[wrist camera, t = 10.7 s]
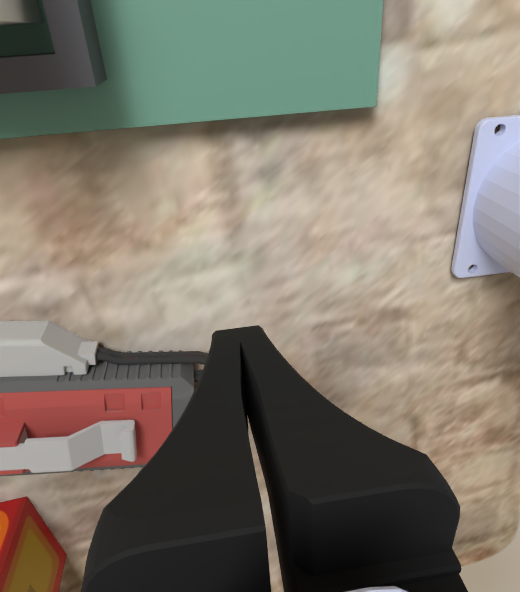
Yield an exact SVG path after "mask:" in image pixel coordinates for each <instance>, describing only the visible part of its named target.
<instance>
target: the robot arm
mask: <svg viewBox="0 0 520 592" xmlns="http://www.w3.org/2000/svg"><path fill="white" fill-rule="evenodd" d="M498 124H500V130H499V131H498V132H497V133H496V134H495V133H494V130H495V128H496V126H497V125H498ZM471 265H473V267H472V268H471V269H470V270H468V268H469V267H470V266H471ZM451 272H452V273H453V274H454V275H455V276H456V277H458V278H466V277H474V276H482V275H490V274H498V273H506V272H512V273H513V274H515V275H516V276H517V277H519V278H520V115H511V116H500V117H489V118H485V119H482V120H481V121H480V122H479V123H478V124H477V125H476V128H475V131H474V137H473V143H472V149H471V155H470V161H469V167H468V173H467V179H466V185H465V190H464V196H463V202H462V208H461V214H460V220H459V226H458V232H457V238H456V243H455V249H454V255H453V261H452V267H451ZM247 415H248V418H247ZM248 419H249V423H250V426H251V430H252V434H253V438H254V442H255V445H256V449H257V453H258V456H259V460H260V464H261V468H262V471H263V475H264V479H265V483H266V487H267V492H268V496H269V502H270V508H271V514H272V520H273V526H274V532H275V538H276V544H277V550H278V557H279V563H280V569H281V575H282V581H283V588H284V592H468V591H467V589H466V587H465V585H464V583H463V581H462V579H461V577H460V575H459V573H460V572H461V565H460V562H459V561H458V559H457V557H456V555H455V553H454V551H453V549H452V545H453V541H454V537H455V533H456V530H457V526H458V522H459V518H460V506H459V503H458V501H457V498H456V496H455V495H454V493H453V491H452V490H451V488H450V486H449V484H448V483H447V481H446V480H445V479H444V477H443V476H442V474H441V473H440V472H439V470H438V469H437V468H436V467H435V465H434V464H433V463H432V461H431V460H430V459H429V457H428V456H427V455H426V454H423V453H421V452H419V451H417V450H414V449H412V448H410V447H408V446H405V445H403V444H401V443H398V442H396V441H394V440H392V439H390V438H388V437H386V436H384V435H382V434H380V433H378V432H376V431H374V430H373V429H371V428H369V427H367V426H365V425H364V424H362V423H361V422H359V421H357V420H356V419H354V418H353V417H351V416H350V415H348V414H346V413H345V412H343V411H342V410H341V409H339V408H338V407H336V406H335V405H334V404H332V403H331V402H330V401H329V400H327V399H326V398H325V397H324V396H322V395H321V394H320V393H319V392H318V391H316V390H315V389H314V388H313V387H312V386H311V385H310V384H309V383H308V382H307V381H306V380H305V379H303V378H302V377H301V376H300V375H299V374H298V373H297V372H296V371H295V369H294V368H293V367H292V366H291V365H290V364H289V363H288V362H287V361H286V360H285V358H284V357H283V356H282V355H281V354H280V353H279V351H278V350H277V349H276V348H275V346H274V345H273V344H272V342H271V341H270V340H269V338H268V337H267V335H266V334H265V332H264V330H263V329H262V328H261V327H260V326H259V325H258V326H250V327H242V328H234V329H227V330H219V331H215V332H214V333H213V334H212V342H211V347H210V351H209V354H208V358H207V361H206V364H205V366H204V369H203V372H202V374H201V377H200V379H199V382H198V384H197V386H196V388H195V390H194V392H193V395H192V397H191V399H190V401H189V403H188V405H187V406H186V408H185V410H184V412H183V414H182V415H181V417H180V419H179V420H178V422H177V423H176V425H175V427H174V428H173V430H172V431H171V432H170V434H169V435H168V437H167V438H166V440H165V441H164V443H163V444H162V445H161V447H160V448H159V449H158V451H157V452H156V453H155V454H154V456H153V457H152V458H151V459H150V460H149V462H148V463H147V464H146V465H145V466H144V467H143V469H142V470H141V471H140V472H139V473H138V475H137V476H136V477H135V478H134V479H133V480H132V481H131V482H130V483H129V484H128V485H127V486H126V487H125V488H124V489H123V490H122V491H121V492H120V493H119V494H118V495H117V496H116V497H115V498H114V499H113V500H112V501H111V502H110V503H109V504H108V505H107V506H106V507H105V508H104V509H103V511H102V514H101V516H100V519H99V521H98V524H97V527H96V530H95V533H94V536H93V539H92V542H91V545H90V548H89V552H88V556H87V561H86V566H85V572H84V578H83V584H82V589H81V592H271V584H270V572H269V561H268V549H267V537H266V528H265V521H264V515H263V509H262V503H261V497H260V493H259V488H258V483H257V478H256V473H255V468H254V463H253V458H252V453H251V448H250V442H249V437H248Z"/></svg>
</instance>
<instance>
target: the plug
mask: <svg viewBox="0 0 520 592" xmlns="http://www.w3.org/2000/svg"><path fill="white" fill-rule="evenodd" d="M35 23H43V21H42V17H41V13H40V9H39V5H38V2H37V0H0V26H6V25H21V24H35Z"/></svg>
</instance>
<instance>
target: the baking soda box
mask: <svg viewBox="0 0 520 592" xmlns="http://www.w3.org/2000/svg"><path fill="white" fill-rule="evenodd" d="M65 560H66V553H65V552H64V550H63V549H62V547H61V546H60V544H59V543H58V541H57V540H56V538H55V537H54V536H53V534H52V533H51V531H50V530H49V528H48V527H47V525H46V524H45V522H44V521H43V519H42V518H41V517H40V515H39V514H38V512H37V511H36V509H35V508H34V506H33V505H32V503H31V502H30V500H29V499H28V498H27V497H22V498H18V499H14V500H10V501H5V502H1V503H0V592H58V591H59V587H60V582H61V578H62V573H63V569H64V564H65Z"/></svg>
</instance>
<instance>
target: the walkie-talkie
mask: <svg viewBox="0 0 520 592" xmlns="http://www.w3.org/2000/svg"><path fill="white" fill-rule="evenodd" d="M207 358H208V354H207V353H203V352H199V351H187V352H182V351H181V350H180V351H179V352H173V351H169V352H163V351H159V352H152V351H149V352H143V353H142V351H138V353H132V352H131V351H128V352H127V353H122V352H115V351H112V350H110V349H106V348H99V346H98V341H93V342H89V341H88V340H86V339H84V338H82V337H80V336H78V335H76V334H74V333H72V332H71V331H69V330H67V329H65V328H63V327H61V326H59V325H57V324H55V323H54V322H52V321H0V476H13V475H29V474H45V473H61V472H73V471H84V470H90V471H92V470H104V469H116V468H121V469H124V468H134V467H144V466H145V465H146V464H147V463H148V462H149V460H150V459H151V458H152V457H153V456H154V454H155V453H156V452H157V451H158V449H159V448H160V447H161V445H162V444H163V443H164V441H165V440H166V438H167V437H168V435H169V434H170V432H171V431H172V430H173V428H174V427H175V425H176V423H177V422H178V420H179V419H180V417H181V415H182V414H183V412H184V410H185V408H186V406H187V405H188V403H189V401H190V399H191V397H192V395H193V392H194V382H199V379H200V377H201V374H202V372H203V370H196V371H194V369H193V363H201V364H206V361H207Z"/></svg>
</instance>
